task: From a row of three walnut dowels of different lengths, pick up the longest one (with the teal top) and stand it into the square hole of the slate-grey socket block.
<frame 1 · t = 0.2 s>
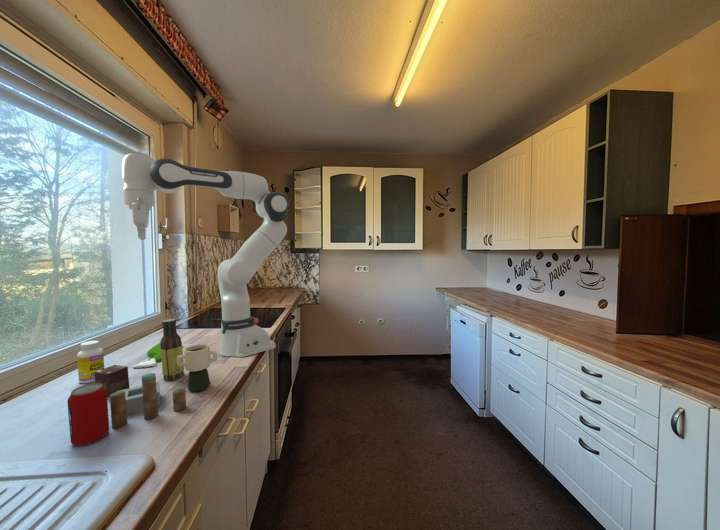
hand: (142, 239, 109), 48 cm above the worktop, tool pointing down, fingers open, 8 cm apart
sauce bottle: (173, 378, 104), on the worktop
box: (113, 392, 94), on the worktop
long pin: (151, 416, 80), on the worktop
spray bottle: (159, 358, 125), on the worktop
beverage can: (90, 439, 71), on the worktop
medium pin: (119, 425, 76), on the worktop
short pin: (180, 408, 83), on the worktop
socket block: (138, 405, 85), on the worktop
supplement bottle: (92, 380, 103), on the worktop
character mug: (199, 389, 95), on the worktop
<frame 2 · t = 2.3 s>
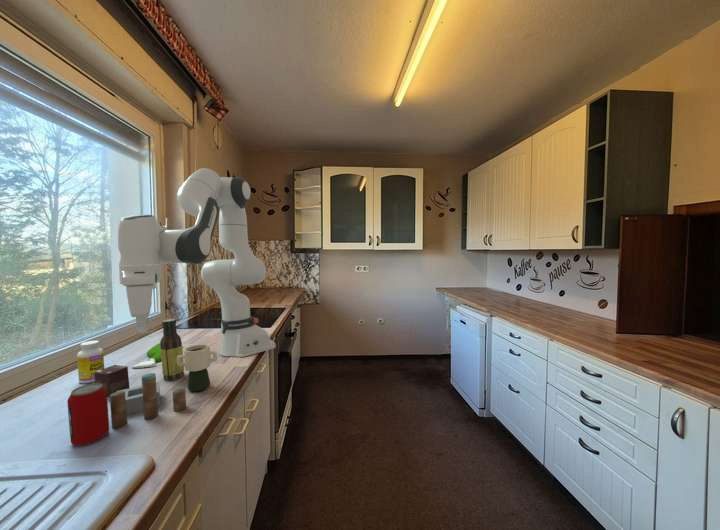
hand: (143, 329, 80), 23 cm above the worktop, tool pointing down, fingers open, 8 cm apart
nothing on the worktop moved.
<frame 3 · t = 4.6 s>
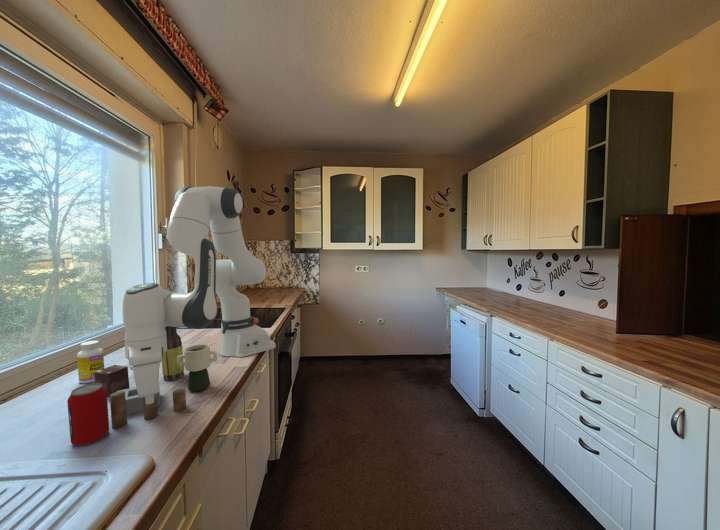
hand: (150, 399, 79), 5 cm above the worktop, tool pointing down, fingers closed on long pin, 3 cm apart
long pin: (151, 416, 80), on the worktop, touching gripper
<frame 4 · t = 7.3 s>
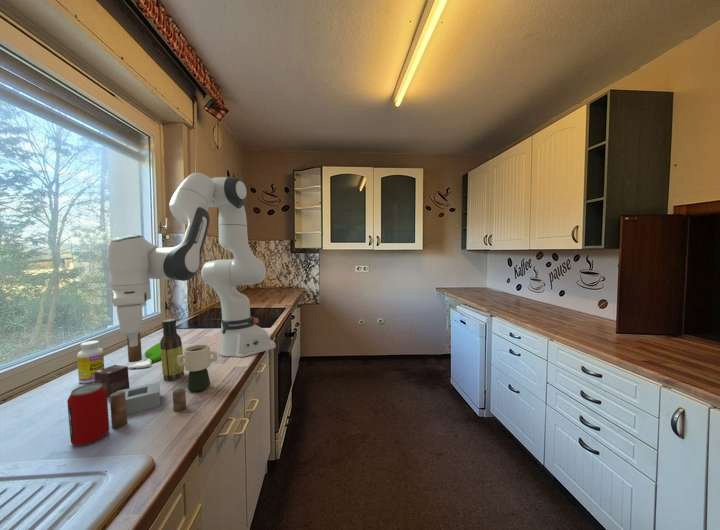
hand: (134, 343, 84), 18 cm above the worktop, tool pointing down, fingers closed on long pin, 3 cm apart
long pin: (135, 360, 85), point 13 cm above the worktop, touching gripper
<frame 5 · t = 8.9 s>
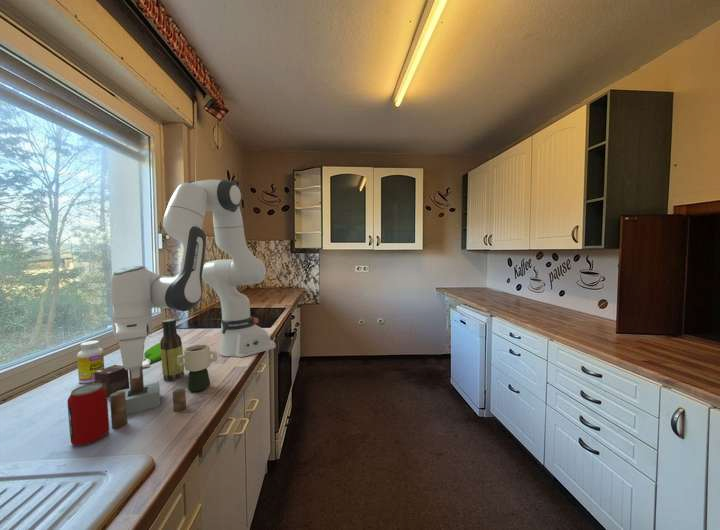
hand: (136, 374, 85), 9 cm above the worktop, tool pointing down, fingers closed on long pin, 3 cm apart
long pin: (137, 390, 85), point 4 cm above the worktop, touching gripper
when the fingers open (6 cm above the worktop, at t = 10.0 s): long pin drops 1 cm, resting in socket block.
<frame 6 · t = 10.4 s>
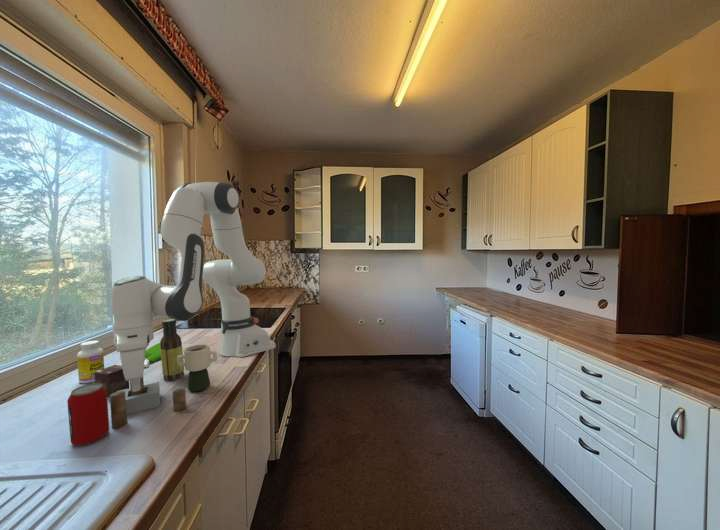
hand: (137, 384, 85), 6 cm above the worktop, tool pointing down, fingers open, 7 cm apart
long pin: (138, 405, 85), resting in socket block
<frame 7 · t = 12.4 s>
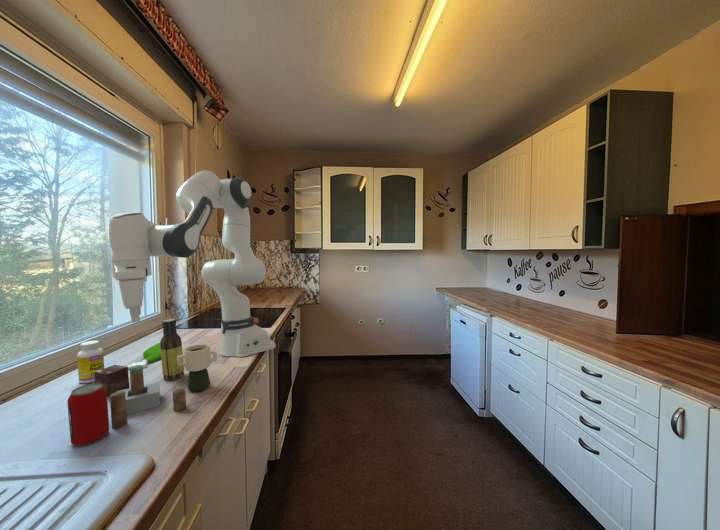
hand: (136, 318, 87), 24 cm above the worktop, tool pointing down, fingers open, 8 cm apart
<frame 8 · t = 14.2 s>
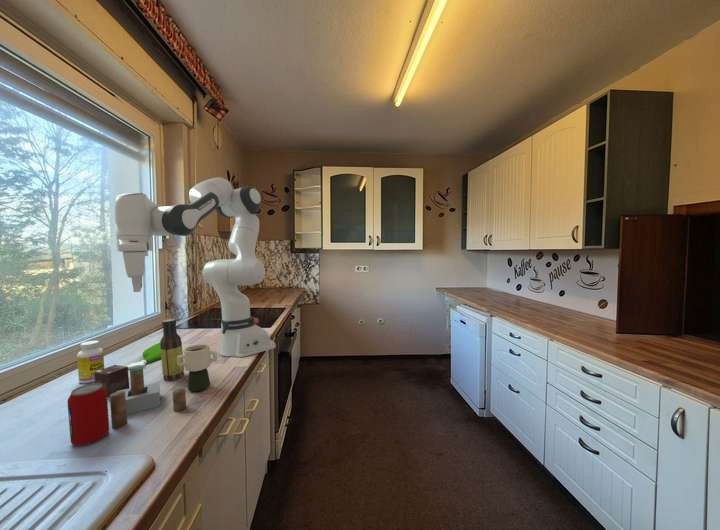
hand: (138, 290, 95), 31 cm above the worktop, tool pointing down, fingers open, 8 cm apart
at the end: long pin 0.1 cm off-centre on the socket block, point 0.0 cm above the socket block's base; long pin tilted 0°; the gripper is holding nothing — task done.
